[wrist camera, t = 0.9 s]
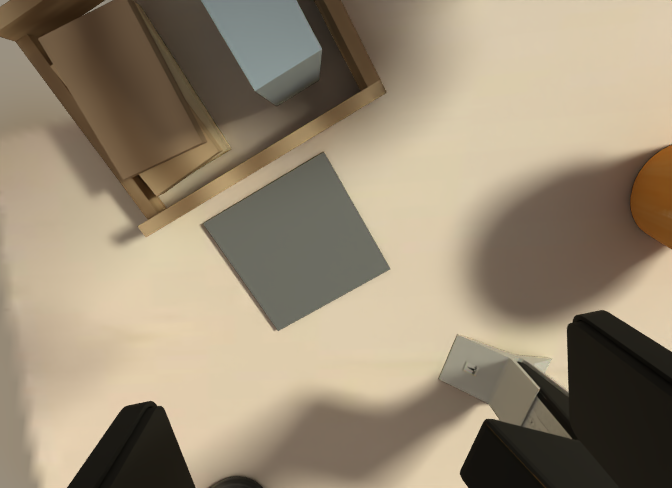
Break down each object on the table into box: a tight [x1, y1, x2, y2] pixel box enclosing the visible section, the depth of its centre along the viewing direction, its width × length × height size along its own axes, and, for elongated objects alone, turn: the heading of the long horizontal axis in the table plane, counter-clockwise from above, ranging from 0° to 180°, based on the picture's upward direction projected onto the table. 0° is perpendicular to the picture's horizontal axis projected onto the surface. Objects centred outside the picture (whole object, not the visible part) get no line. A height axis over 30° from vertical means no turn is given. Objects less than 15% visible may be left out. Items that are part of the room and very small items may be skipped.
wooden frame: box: [0, 0, 387, 237], centre depth 28 cm, size 21×17×4 cm
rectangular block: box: [201, 0, 322, 106], centre depth 24 cm, size 4×10×12 cm, turn 30°
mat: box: [203, 152, 390, 331], centre depth 34 cm, size 12×12×1 cm
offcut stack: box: [38, 0, 231, 196], centre depth 29 cm, size 8×12×4 cm, turn 30°
